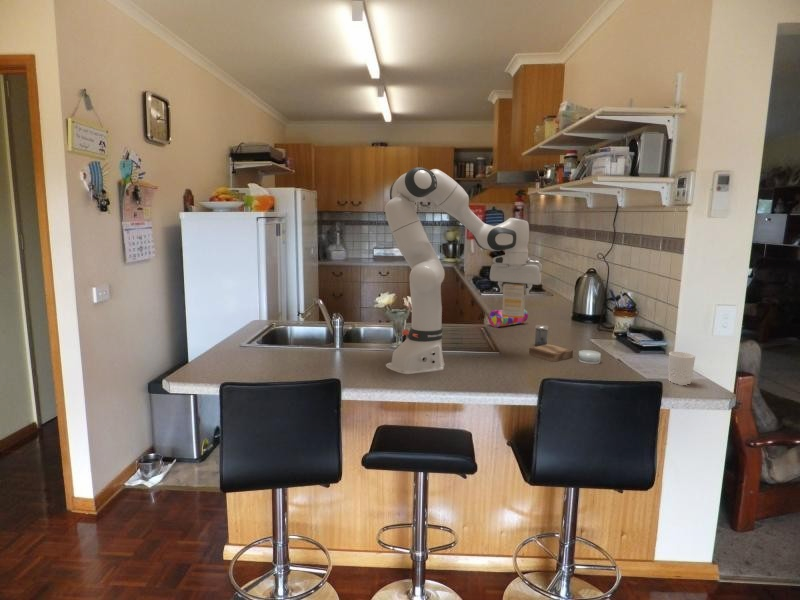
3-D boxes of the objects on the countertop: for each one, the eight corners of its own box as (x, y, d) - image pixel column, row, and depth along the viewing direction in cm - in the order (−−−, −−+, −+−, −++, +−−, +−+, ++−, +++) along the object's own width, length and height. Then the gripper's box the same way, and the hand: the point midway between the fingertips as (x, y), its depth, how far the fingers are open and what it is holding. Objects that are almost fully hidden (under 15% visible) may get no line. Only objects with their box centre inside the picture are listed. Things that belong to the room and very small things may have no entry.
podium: (553, 362, 202) (553, 354, 201) (528, 355, 211) (529, 347, 211) (572, 357, 209) (573, 349, 208) (547, 351, 218) (548, 343, 218)
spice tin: (541, 348, 222) (542, 328, 221) (531, 345, 227) (532, 325, 225) (549, 346, 226) (551, 326, 224) (539, 344, 230) (541, 324, 228)
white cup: (670, 385, 176) (673, 356, 175) (663, 378, 184) (665, 350, 182) (695, 387, 175) (699, 358, 173) (687, 379, 183) (690, 352, 181)
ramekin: (592, 365, 198) (592, 356, 198) (574, 360, 205) (574, 352, 204) (604, 362, 203) (605, 353, 203) (586, 357, 210) (586, 349, 209)
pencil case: (500, 329, 258) (501, 311, 257) (486, 326, 266) (487, 308, 264) (529, 324, 271) (530, 307, 270) (515, 321, 279) (515, 304, 277)
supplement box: (524, 316, 210) (526, 284, 208) (522, 318, 206) (524, 285, 204) (504, 314, 213) (505, 282, 211) (501, 316, 209) (503, 284, 207)
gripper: (544, 260, 204) (542, 295, 206) (494, 257, 213) (492, 290, 216) (540, 261, 198) (538, 297, 201) (489, 258, 208) (487, 292, 210)
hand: (514, 294), depth 208 cm, fingers closed on supplement box, 8 cm apart
